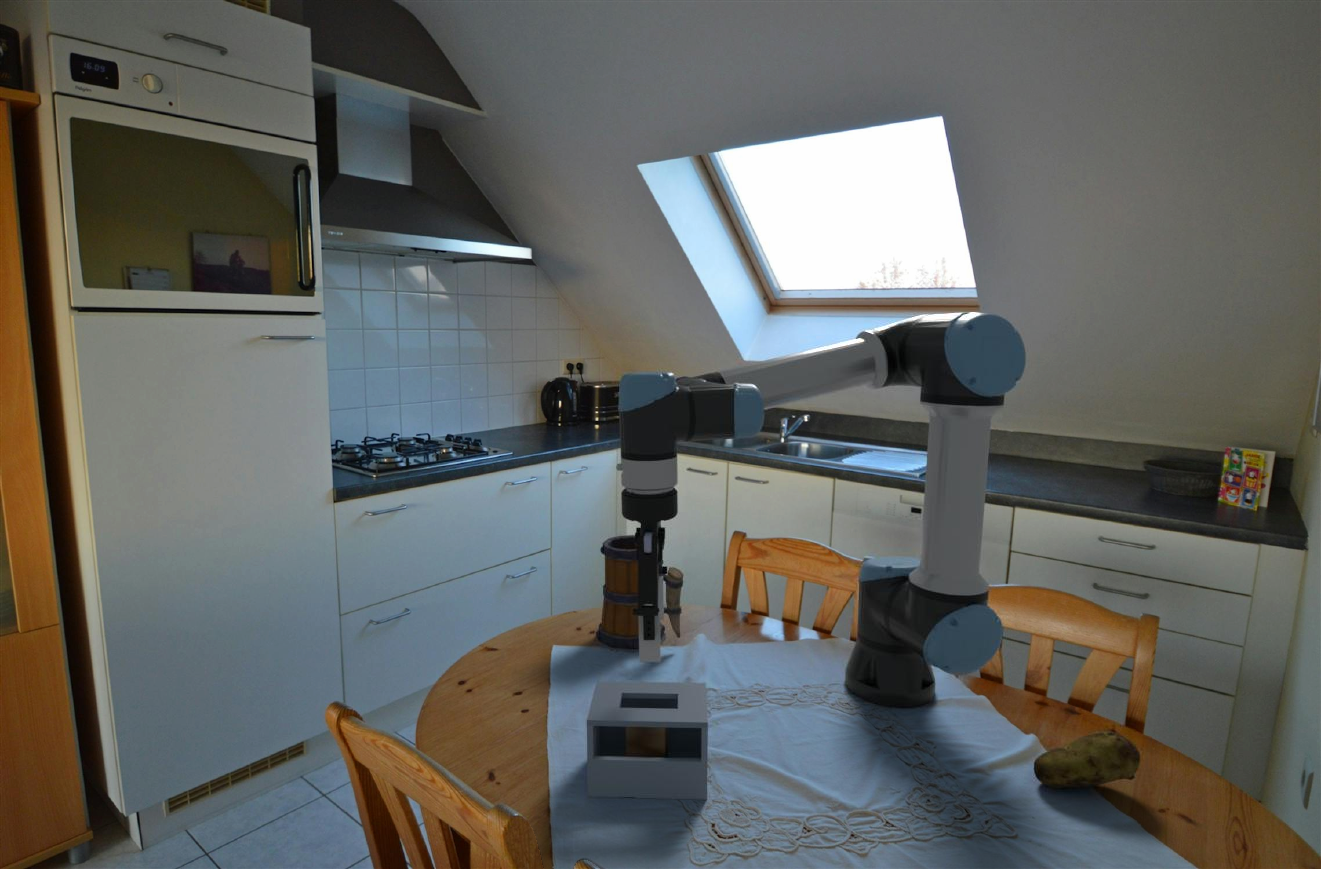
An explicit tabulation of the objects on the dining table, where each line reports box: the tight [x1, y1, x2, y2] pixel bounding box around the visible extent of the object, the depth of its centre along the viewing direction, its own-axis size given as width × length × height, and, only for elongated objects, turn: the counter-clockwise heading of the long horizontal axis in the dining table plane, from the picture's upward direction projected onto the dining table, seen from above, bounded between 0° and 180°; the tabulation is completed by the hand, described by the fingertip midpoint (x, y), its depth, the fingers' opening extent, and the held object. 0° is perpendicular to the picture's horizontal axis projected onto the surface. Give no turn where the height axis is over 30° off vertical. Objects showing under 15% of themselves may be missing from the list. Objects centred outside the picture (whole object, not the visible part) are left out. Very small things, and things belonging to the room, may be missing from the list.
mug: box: [595, 534, 684, 654], centre depth 148 cm, size 19×14×20 cm
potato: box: [1033, 729, 1141, 789], centre depth 101 cm, size 8×13×8 cm, turn 68°
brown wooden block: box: [626, 727, 668, 758], centre depth 104 cm, size 6×3×8 cm, turn 80°
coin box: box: [586, 680, 709, 800], centre depth 103 cm, size 16×11×11 cm
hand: (652, 638), depth 101 cm, fingers open, 13 cm apart
